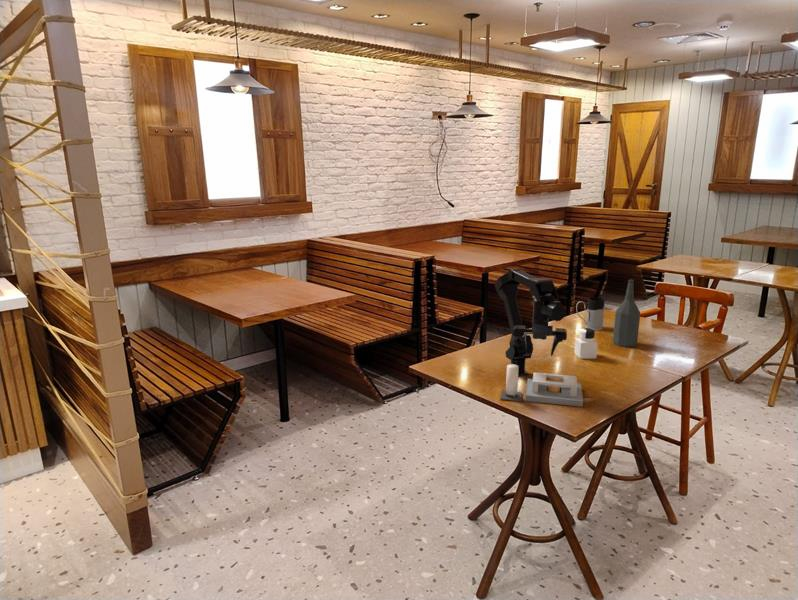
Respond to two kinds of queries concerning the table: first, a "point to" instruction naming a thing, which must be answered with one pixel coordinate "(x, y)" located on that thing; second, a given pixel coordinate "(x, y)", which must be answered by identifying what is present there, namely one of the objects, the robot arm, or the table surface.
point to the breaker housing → (568, 389)
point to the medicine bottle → (586, 344)
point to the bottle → (627, 320)
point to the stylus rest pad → (518, 398)
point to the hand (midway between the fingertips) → (538, 354)
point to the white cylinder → (512, 380)
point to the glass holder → (594, 313)
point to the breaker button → (554, 389)
